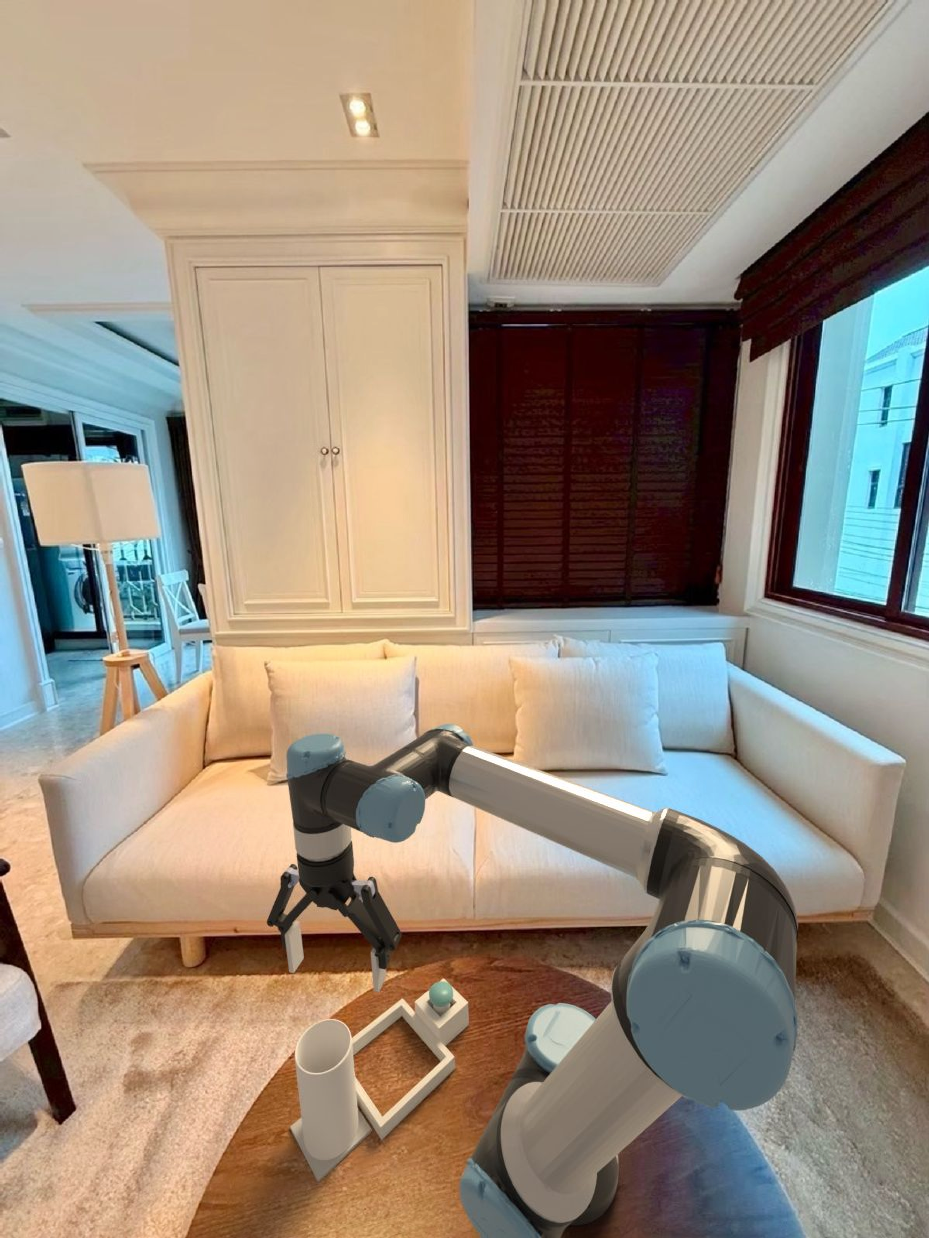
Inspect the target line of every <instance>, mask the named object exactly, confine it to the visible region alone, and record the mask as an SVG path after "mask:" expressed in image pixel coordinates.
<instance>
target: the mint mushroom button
mask: <svg viewBox="0 0 929 1238" xmlns="http://www.w3.org/2000/svg"><path fill="white" fill-rule="evenodd" d="M440 981H441V980H440ZM440 981H437V982H435V983H433V984H432V985H431V986H430V988H429V989H428V990H429V999H430V1001H431V1003H432V1004H433V1010H434V1011H435V1012H436V1013H437V1014H438V1015H439V1016H442V1015H443V1014H444V1013H445V1012H446V1011H447V1010H449V1009H450V1002H451V1001H452V999H453V988H454V987H453V986H452V985H451V984H450V983H449V982H448V981H447V982H448V983H447V982H443V981H441V982H440ZM452 987H453V988H452Z"/></svg>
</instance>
